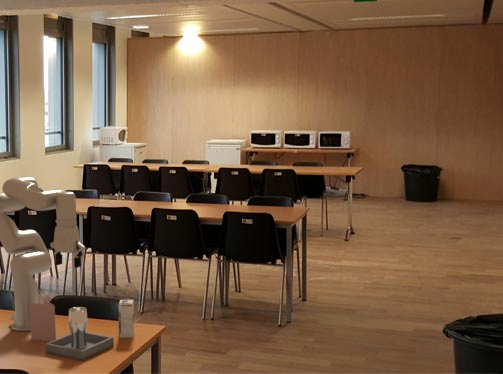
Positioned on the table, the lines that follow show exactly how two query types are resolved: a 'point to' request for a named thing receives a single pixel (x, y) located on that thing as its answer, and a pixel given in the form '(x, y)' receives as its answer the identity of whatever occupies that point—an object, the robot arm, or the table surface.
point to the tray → (94, 347)
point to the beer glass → (78, 327)
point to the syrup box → (126, 318)
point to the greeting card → (42, 321)
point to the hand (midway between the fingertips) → (68, 265)
